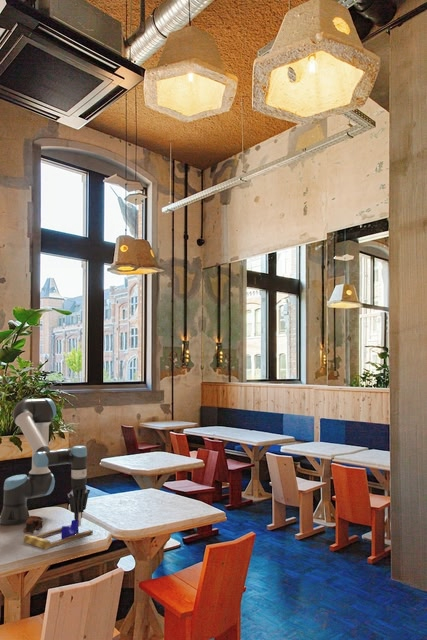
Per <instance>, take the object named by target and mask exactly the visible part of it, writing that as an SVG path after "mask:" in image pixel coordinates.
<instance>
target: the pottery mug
mask: <svg viewBox="0 0 427 640" xmlns="http://www.w3.org/2000/svg"><path fill="white" fill-rule="evenodd" d="M43 520H44V519H43V517H41V516H38V515H29V517H28V519H27V520H26V521H25V527H23V533H30V534H33V533H35V532H34V531H36V532H37V531H39V530H40V529H42V528H43V527H44V526H43V522H44V521H43Z"/></svg>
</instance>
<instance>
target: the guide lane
mask: <svg viewBox="0 0 427 640" xmlns="http://www.w3.org/2000/svg"><path fill="white" fill-rule="evenodd" d="M67 526H71V524H69V525H67ZM61 532H62V527H59V528H55V529H51V530H49V531H45V532H41V533H39V534H34V535H32V534H24V535H23V543H26V544H30V545H32V546H36V547H38V548H42V549H45V550H47V549H51V548H54V547H57V546H59V545H62V544H66V543H69V542H72V541H75V540H78V539H81V538H84V537H87V536H90V535H92V534H91V533H93V534H94V530H92V529H88V530H85V531H82V532H78V533H77V534H76V535H72V536H69V537H66V538H63V539H61V538H59V539H57V540H54V541H51V540H47V539H45V538H46V537H51V536H53V535H57V534H60V533H61ZM89 534H90V535H89ZM86 535H87V536H86ZM83 536H84V537H83Z"/></svg>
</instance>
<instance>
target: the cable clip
mask: <svg viewBox="0 0 427 640" xmlns="http://www.w3.org/2000/svg"><path fill="white" fill-rule="evenodd" d="M78 524H79V520H75V519H71V523H70V525H71V526H68V525H61V528H62V532H60V533H61V534H60V535H61V538H60V539H63V538H66V537H69V536H72V535H75V534H76V533H77V534H79V527H78Z"/></svg>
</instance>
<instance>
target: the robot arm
mask: <svg viewBox="0 0 427 640" xmlns="http://www.w3.org/2000/svg"><path fill="white" fill-rule="evenodd" d="M56 415H57V407H56V404H55V402H54V400H53V399H51V398H46V397H45V398H44V397H43V398H41V397H40V398H26V399H22V400H20V401H18V402H17V403H16V405H14V408H13V411H12V419H13V421H14V423H15V425H16V426H17V427H19V429H20V430H21V431H22V433H23V436H24V437H25V439H26V442H27V443H28V445H29V447H30V448H31V450H32V451H31V452H32V453H31V469H30V471H29V472H28V475H27V474H16V475H12V476H10V477H7V478H6V479H5V480H4V483H3V505H2V510H1V513H0V525H3V526H14V525H22V524H24V523H25V524H26V522H25V521H26V520H27V519H28V517H29V516H30V513H29V508H28V506H27V504H28V503H27V501H28V500H29V499H34V498H40V497H42V498H43V497H45V496H48V495H50V494H52V492H53V491H54V488H55V483H56V480H55V476H54V474H53V473H52V472H51V470H50V469H49V467H52V466H60V465H67V464H68V465H71V469H70V470H71V473H70V478H71V479H70V482H71V483H70V486H71V489H70V492H69V493H67V494H66V496H67V498H68V502H69V508H70V512H71V513H73V514H74V519H73V520H79V524H78V528H80V527H82V518H83V513H84V511H85V510H86V508H87V505H88V504H87V503H88V500H89V499H88V498H89V494H90V491H91V490H90V489H88V488H87V476H88V475H87V471H88V470H87V468H88V467H87V466H88V465H87V464H88V449H87V446H85V445H75V446H72V447H61V448H60V449H54V450H53V449H52V450H51V449H50V447H49V441H50V440H49V434H50V433H49V432H50V429H49V428H50V425H51V424H52V421H53V419H55V417H56Z"/></svg>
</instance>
